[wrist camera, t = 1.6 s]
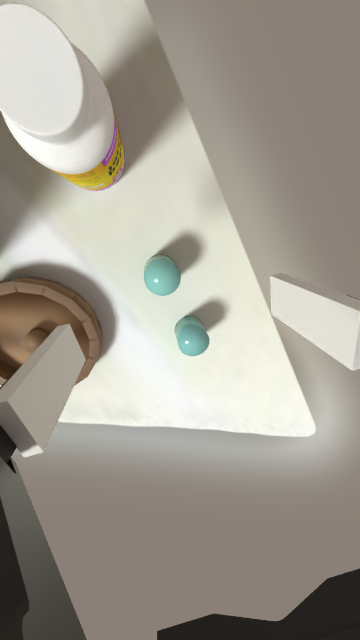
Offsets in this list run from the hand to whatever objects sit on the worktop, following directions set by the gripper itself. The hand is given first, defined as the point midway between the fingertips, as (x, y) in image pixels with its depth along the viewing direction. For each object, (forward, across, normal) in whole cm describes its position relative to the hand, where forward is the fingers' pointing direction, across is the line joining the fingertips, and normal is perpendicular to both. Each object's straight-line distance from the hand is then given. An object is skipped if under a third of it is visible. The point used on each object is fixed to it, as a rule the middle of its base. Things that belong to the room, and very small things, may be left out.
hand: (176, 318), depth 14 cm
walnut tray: (+15, -17, -4) cm, 23 cm away
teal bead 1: (+15, 0, 0) cm, 15 cm away
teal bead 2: (+15, +2, -9) cm, 18 cm away
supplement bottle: (+15, -4, +13) cm, 21 cm away
